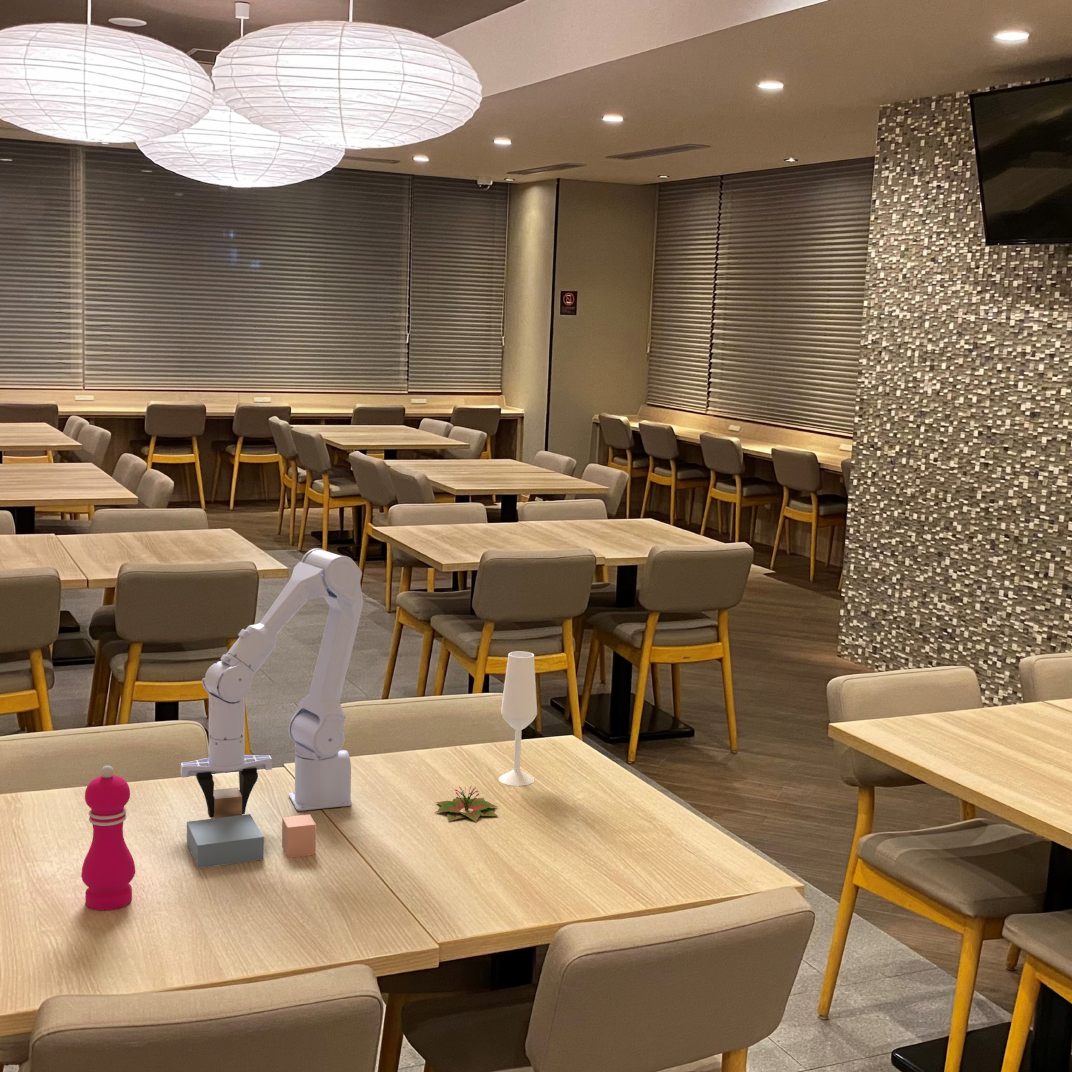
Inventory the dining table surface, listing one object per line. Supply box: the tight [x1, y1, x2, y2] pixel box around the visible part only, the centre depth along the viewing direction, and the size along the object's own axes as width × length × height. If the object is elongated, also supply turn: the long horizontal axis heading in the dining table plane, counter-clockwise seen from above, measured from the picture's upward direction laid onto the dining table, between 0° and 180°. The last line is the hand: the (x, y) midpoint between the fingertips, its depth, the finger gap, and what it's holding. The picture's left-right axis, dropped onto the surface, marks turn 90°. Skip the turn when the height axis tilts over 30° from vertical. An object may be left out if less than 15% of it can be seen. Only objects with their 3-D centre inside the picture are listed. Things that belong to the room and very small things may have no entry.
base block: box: [186, 813, 265, 869], centre depth 196 cm, size 10×10×4 cm
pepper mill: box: [80, 765, 136, 911], centre depth 176 cm, size 7×7×20 cm
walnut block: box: [210, 787, 243, 819], centre depth 208 cm, size 4×4×5 cm
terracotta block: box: [281, 814, 317, 859], centre depth 197 cm, size 4×4×5 cm
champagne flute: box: [498, 650, 538, 787], centre depth 232 cm, size 7×7×24 cm
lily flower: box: [434, 785, 500, 823], centre depth 217 cm, size 12×12×5 cm
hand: (226, 813), depth 208 cm, fingers closed on walnut block, 4 cm apart
